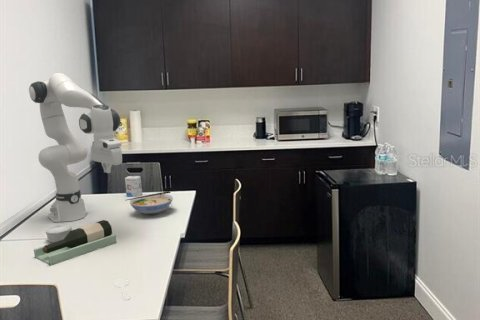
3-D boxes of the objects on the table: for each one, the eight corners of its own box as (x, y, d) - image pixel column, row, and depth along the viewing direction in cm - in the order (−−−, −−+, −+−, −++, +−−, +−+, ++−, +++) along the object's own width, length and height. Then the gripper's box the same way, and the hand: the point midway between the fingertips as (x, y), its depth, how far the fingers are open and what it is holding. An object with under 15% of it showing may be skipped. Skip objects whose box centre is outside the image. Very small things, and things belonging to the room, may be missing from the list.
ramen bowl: (135, 222, 235) (133, 207, 233) (123, 211, 255) (122, 197, 253) (182, 213, 246) (181, 198, 244) (168, 203, 266) (166, 189, 264)
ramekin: (66, 233, 224) (65, 223, 223) (77, 238, 216) (75, 227, 215) (42, 240, 217) (41, 229, 216) (53, 245, 209) (51, 234, 208)
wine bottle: (113, 225, 210) (50, 247, 187) (110, 241, 213) (48, 264, 191) (102, 216, 214) (39, 236, 191) (100, 231, 218) (37, 252, 195)
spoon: (119, 302, 154) (119, 301, 154) (112, 281, 170) (112, 279, 170) (135, 299, 156) (135, 297, 156) (127, 277, 172) (127, 276, 172)
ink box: (126, 197, 285) (124, 177, 283) (129, 194, 290) (127, 175, 288) (139, 196, 284) (137, 177, 281) (142, 194, 289) (140, 175, 286)
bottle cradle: (34, 257, 196) (33, 249, 195) (99, 236, 218) (98, 229, 217) (50, 265, 187) (49, 257, 186) (116, 242, 208) (115, 235, 208)
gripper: (86, 141, 213) (89, 171, 216) (110, 145, 199) (113, 177, 202) (98, 139, 218) (101, 168, 220) (123, 142, 204) (126, 174, 207)
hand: (107, 172), depth 211 cm, fingers closed
